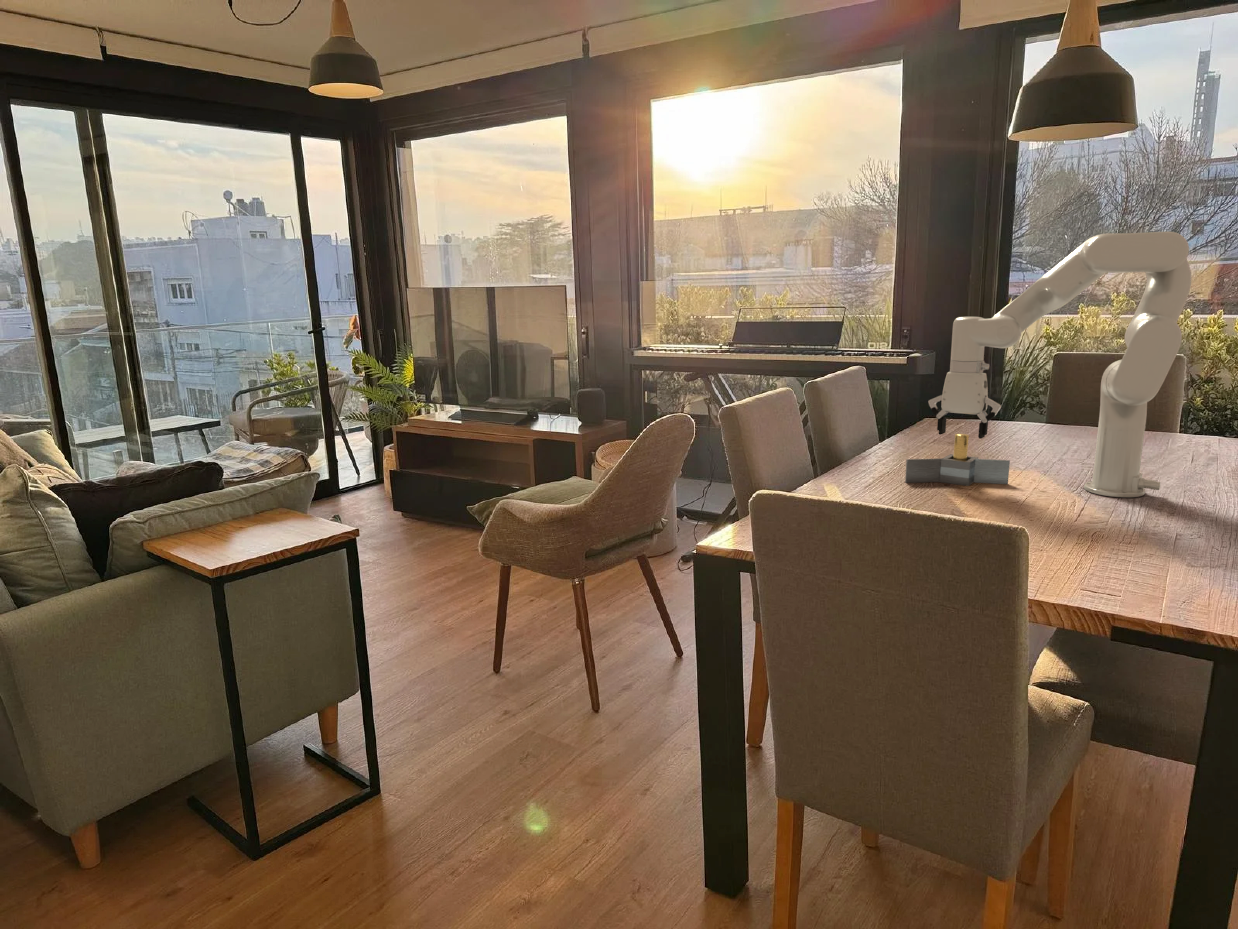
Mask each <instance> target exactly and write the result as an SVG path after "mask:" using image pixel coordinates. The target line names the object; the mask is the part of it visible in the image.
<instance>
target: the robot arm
mask: <svg viewBox="0 0 1238 929" xmlns="http://www.w3.org/2000/svg"><path fill="white" fill-rule="evenodd" d="M1189 249H1190V246H1189V243H1188V241H1187V239H1186V238H1185V237H1184V236H1183V235H1181V234H1180V233H1178V232H1176V231H1170V230H1169V231H1167V230H1166V231H1155V232H1154V231H1151V232H1132V233H1131V232H1129V233H1127V232H1126V233H1125V232H1124V233H1115V232H1114V233H1113V232H1111V233H1110V232H1109V233H1107V232H1106V233H1101V234H1097V235H1094V236H1092V237H1090V238H1089V239H1086V241H1084V242H1083V243H1081V244H1080V245H1079V246H1078V247H1076V248H1075V249H1074V250H1073V251H1071V253H1069V254H1068V255H1067V256H1065V257H1064V258H1063V259H1062V260H1061V261H1060V262H1058V263H1057V264H1056V265H1055V266H1054V267H1052V268H1051V269H1050V270H1048V271H1047V272H1046V273H1044V274H1043V275H1042V276H1041V277H1040V278H1038V279H1037V280H1036V281H1035V282H1033V283H1032V284H1031V286H1029V287H1028V288H1027V289H1026V290H1024V291H1023V292H1022V293H1021V294H1020V295H1018V296H1017V297H1015V299H1013V300H1012V301H1011V302H1010V303H1008V304H1007V305H1006V306H1004V307H1003V308H1002V309H1000V311H998V312H997V313H996V314H994V315H993V316H992V317H991V318H984V317H981V316H958V317H956V318H955V319H954V321H953V323H952V335H951V349H950V364H949V371H948V372H946V376H945V379H944V384H943V389H942V394H940V395H937V396H936V397H933V398H931V399H928V401H927V402H928V406H929V407H930V409H931V410H930V411H931V412H932V413H933V414H934V416H935V418H936V419H937V425H936V426H937V427H936V429H937V431H938V435H944V434H945V433H946V430H947V417H946V415H947V414H948V413H952V414H953V413H954V414H965V415H977V417H978V418H979V420H980V422H979V423H978V424H979V425H978V439H979V440H980V439H983V438H985V437H986V436H987V435H988V429H989V422H990V421H991V420H992V419H993V418H995V417H996V416H997V414H998V412H999V411H1000V410H1001V408H1002V405H1001V404H1000V403H999V402H997V401H994V400H993V399H991V398H989V396H988V395H989V392H988V391H989V390H988V389H989V388H988V376H987V373H986V372H984V371H986V370H989V369H990V363H986V362H985V360H984V358H985V356H984V355H985V347H989V348H996V349H997V348H998V349H1007V348H1011V347H1013V346H1014V345H1016V344H1017V343H1018V342H1019V340H1020V338H1022V337H1021V336H1022V333H1023V332H1024V331H1025V330H1026V329H1028V328H1029V327H1030V326H1032V325H1033V324H1035V322H1037V321H1038V320H1040V319H1041V318H1043V317H1044V316H1046V315H1048V314H1050V313H1052V312H1054V311H1056V310H1059V309H1061V308H1063V307H1064V306H1065V305H1067V304H1069V303H1070V302H1071V301H1072V300H1074V299H1075V298H1076V297H1077V296H1079V295H1080V294H1081V293H1082V292H1084V291H1085V290H1086V289H1087V288H1088V287H1090V286H1091V285H1092V284H1093V283H1095V282H1096V281H1097V280H1099V279H1100V278H1101V277H1103V276H1104V275H1105V274H1106V273H1109V274H1110V273H1116V274H1117V273H1119V274H1121V273H1122V274H1124V273H1127V274H1128V273H1129V274H1130V273H1145V277H1146V284H1145V288H1144V291H1143V294H1142V296H1141V300H1140V301H1139V304H1138V306H1137V308H1136V310H1135V312H1134V314H1133V316H1132V318H1131V320H1130V322H1129V324H1128V326H1127V328H1126V329H1125V333H1124V343H1125V346H1126V347H1127V348H1126V349H1125V353H1124V354H1123V355H1122V359H1119V360H1116V361H1114V362H1112V363H1111V364H1109V365H1108V366H1107V367H1106V368H1105V370H1104V371H1103V374H1102V376H1101V382H1100V404H1099V405H1100V406H1099V417H1098V427H1097V435H1096V443H1095V444H1096V445H1095V453H1094V464H1093V473H1092V480H1091V481H1087V482H1085V483H1084V487H1083V488H1084V490H1085V491H1087V492H1089V493H1092V494H1095V495H1100V496H1106V497H1112V498H1137V497H1138V498H1140V497H1143V496H1144V495H1145V494H1146V489H1150V490H1155V491H1160V490H1161V486H1162V485H1161V481H1157V480H1154V479H1146V478H1144V477H1143V473H1142V472H1141V463H1142V454H1143V446H1144V438H1145V431H1146V425H1147V416H1148V415H1147V411H1148V403H1149V402H1150V401H1151V400H1153V399H1154V398H1155V397H1156V396H1157V394H1158V392H1159V391H1160V389H1161V388H1162V385H1163V384H1164V382H1165V380H1166V378H1167V375H1168V373H1170V372H1169V371H1171V368H1172V365H1173V363H1174V361H1175V359H1176V356H1177V355H1178V353H1179V350H1180V348H1181V346H1182V345H1181V344H1182V338H1183V337H1182V336H1183V335H1182V334H1183V333H1182V329H1181V328H1180V326H1179V323H1178V321H1179V319H1180V316H1181V314H1182V313H1183V309H1184V306H1185V304H1186V302H1187V300H1188V297H1189V295H1190V291H1191V286H1192V271H1191V267H1190V263H1189V261H1188V259H1187V257H1188V255H1189V252H1190V250H1189ZM940 401H941V404H940V405H941V406H940V407H941V410H940V409H939V407H938V406H937V403H938V402H940ZM988 406H989V407H991V408H992V410H991V411H990V412H989V413H987V412H986V411H987V409H988Z"/></svg>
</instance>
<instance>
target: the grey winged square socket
mask: <svg viewBox="0 0 1238 929" xmlns="http://www.w3.org/2000/svg"><path fill="white" fill-rule="evenodd" d="M953 455H954V453H953V454H951V453H950V454H949V455H946V456H944V457H942V458H940V457H939V458H907V459H905V460H906V462H905V475H904V476H905V478H904V479H905V480H904V481H905V482H904V483H905V484H913V483H915V484H916V483H943V484H950V485H951V484H953V485H959V486H964V487H965V486H966V487H969V486H971V485H972V484H973V483H979V484H981V483H982V484H996V485H997V484H998V485H1008V484H1009V477H1010V476H1009V474H1010V462H1011V460H1010V459H1009V460H1007V459H993V458H991V459H989V458H979V457H978V456H972V455H971V456H970V455H967V461H963V460H954V459H953Z"/></svg>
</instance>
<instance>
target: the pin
mask: <svg viewBox="0 0 1238 929" xmlns="http://www.w3.org/2000/svg"><path fill="white" fill-rule="evenodd" d="M969 437H970V434H967V433H955V434H954V444H953V459H954V460H963V461H967V456H968V450H969V439H970V438H969Z"/></svg>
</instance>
